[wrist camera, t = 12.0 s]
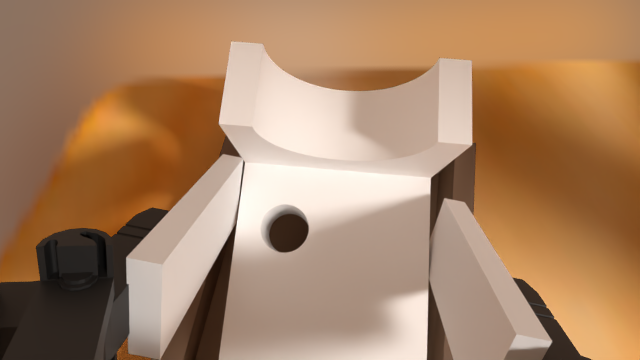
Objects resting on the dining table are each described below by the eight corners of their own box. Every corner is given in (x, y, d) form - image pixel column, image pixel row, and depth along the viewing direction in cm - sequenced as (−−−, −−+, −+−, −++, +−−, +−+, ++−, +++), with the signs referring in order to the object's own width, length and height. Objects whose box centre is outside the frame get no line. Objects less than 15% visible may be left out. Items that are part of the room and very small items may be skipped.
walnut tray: (452, 167, 22) (475, 143, 19) (428, 577, 15) (458, 634, 12) (239, 125, 22) (232, 95, 19) (122, 516, 15) (83, 558, 12)
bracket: (265, 130, 19) (231, 41, 11) (410, 142, 19) (472, 60, 11) (228, 427, 16) (150, 568, 8) (400, 444, 16) (473, 601, 8)
